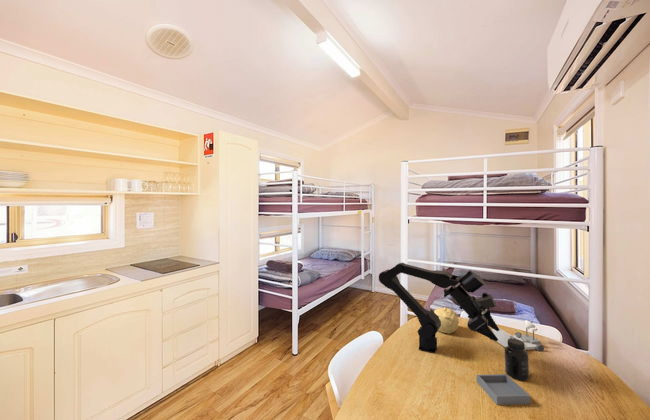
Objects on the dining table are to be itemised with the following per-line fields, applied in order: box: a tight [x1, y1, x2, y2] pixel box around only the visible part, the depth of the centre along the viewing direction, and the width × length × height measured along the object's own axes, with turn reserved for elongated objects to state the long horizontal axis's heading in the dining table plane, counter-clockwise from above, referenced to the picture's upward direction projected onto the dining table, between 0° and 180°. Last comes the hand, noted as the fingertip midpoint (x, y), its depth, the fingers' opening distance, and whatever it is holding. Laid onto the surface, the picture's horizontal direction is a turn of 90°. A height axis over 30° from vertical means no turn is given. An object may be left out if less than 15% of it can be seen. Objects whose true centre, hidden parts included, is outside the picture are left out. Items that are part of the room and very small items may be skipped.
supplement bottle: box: [504, 338, 530, 382], centre depth 91 cm, size 7×7×12 cm
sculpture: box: [433, 306, 459, 334], centre depth 125 cm, size 11×12×11 cm
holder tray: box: [476, 373, 531, 406], centre depth 83 cm, size 10×10×2 cm
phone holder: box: [490, 319, 545, 352], centre depth 111 cm, size 18×10×12 cm
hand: (497, 335), depth 94 cm, fingers open, 9 cm apart
